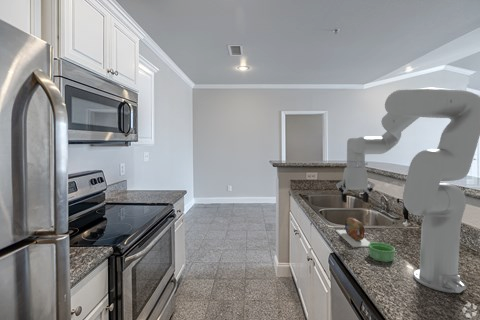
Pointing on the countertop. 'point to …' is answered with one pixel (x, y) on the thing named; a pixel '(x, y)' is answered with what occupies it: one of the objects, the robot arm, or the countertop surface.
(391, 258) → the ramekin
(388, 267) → the countertop surface
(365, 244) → the mat
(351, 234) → the tin
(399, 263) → the countertop surface
